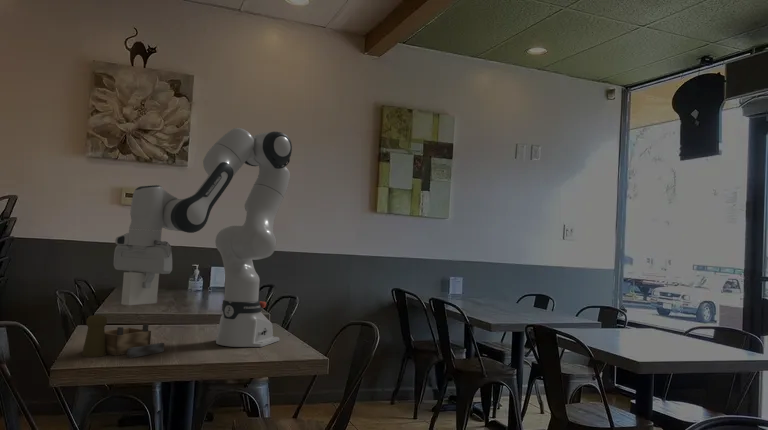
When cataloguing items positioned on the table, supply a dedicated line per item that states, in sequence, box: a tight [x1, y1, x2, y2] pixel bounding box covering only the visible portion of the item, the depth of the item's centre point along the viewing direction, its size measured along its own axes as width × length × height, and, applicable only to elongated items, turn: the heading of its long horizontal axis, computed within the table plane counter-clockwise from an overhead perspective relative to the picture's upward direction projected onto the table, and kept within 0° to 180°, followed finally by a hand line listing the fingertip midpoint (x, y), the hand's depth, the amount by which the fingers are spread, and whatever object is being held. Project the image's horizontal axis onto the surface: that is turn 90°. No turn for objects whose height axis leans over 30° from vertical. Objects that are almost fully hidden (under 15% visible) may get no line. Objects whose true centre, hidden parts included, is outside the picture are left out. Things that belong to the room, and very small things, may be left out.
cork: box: [81, 314, 108, 358], centre depth 161 cm, size 6×6×11 cm
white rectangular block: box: [120, 271, 160, 306], centre depth 166 cm, size 10×4×9 cm, turn 154°
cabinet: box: [105, 323, 165, 359], centre depth 168 cm, size 12×15×8 cm
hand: (140, 287), depth 166 cm, fingers closed on white rectangular block, 3 cm apart
